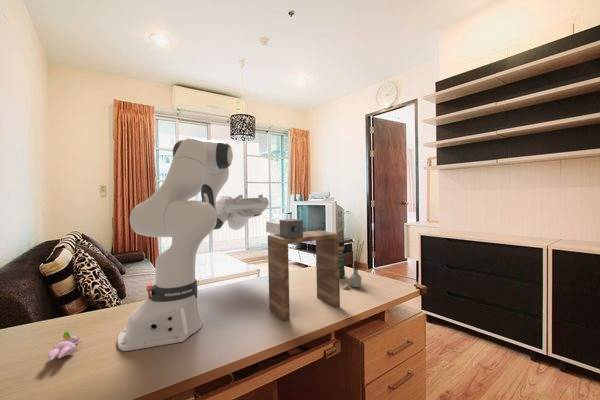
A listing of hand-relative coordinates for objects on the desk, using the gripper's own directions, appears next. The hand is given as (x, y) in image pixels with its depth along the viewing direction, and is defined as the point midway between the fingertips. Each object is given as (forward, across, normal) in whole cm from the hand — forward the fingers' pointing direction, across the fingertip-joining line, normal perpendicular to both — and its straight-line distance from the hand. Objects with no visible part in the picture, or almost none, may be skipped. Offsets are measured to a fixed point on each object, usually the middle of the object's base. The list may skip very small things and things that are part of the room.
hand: (251, 195), depth 126 cm
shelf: (+9, +7, +51) cm, 52 cm away
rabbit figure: (+3, -61, +48) cm, 78 cm away
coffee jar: (-12, +38, +39) cm, 56 cm away
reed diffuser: (+3, +36, +48) cm, 60 cm away
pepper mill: (+19, +1, +27) cm, 33 cm away
